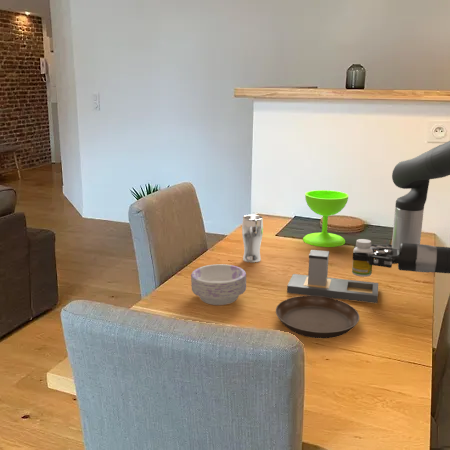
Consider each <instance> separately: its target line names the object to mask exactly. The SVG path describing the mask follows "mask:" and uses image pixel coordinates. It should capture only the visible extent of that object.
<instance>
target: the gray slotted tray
mask: <svg viewBox="0 0 450 450" xmlns="http://www.w3.org/2000/svg"><path fill="white" fill-rule="evenodd" d="M329 256H330V251H329V250H320V249H319V250H318V249H317V250H316V249H311V250H310V252H309V253H308V271H307V274H308V275H305V274H297V273H293V274H292V276H291V277H290V280H288V281H289V282H288V283H287V285H286V286H287V287H286V288H287V290H286V293H287V294H294V295H301V296H323V297H329V298H333V299H337V300H345V301H354V302H364V303H371V304H378V299H379V282H372V281H363V280H362V281H361V280H355V279H354V280H352V279H344V278H335V277H328V276H329V275H328V272H329V271H328V270H329Z"/></svg>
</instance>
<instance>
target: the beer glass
mask: <svg viewBox="0 0 450 450" xmlns="http://www.w3.org/2000/svg"><path fill="white" fill-rule="evenodd" d="M263 218H264V217H263V216H262V215H258V214H248V215H247V214H246V215H244V216H242V225H241V226H242V229H241V231H242V232H241V234H242V240H243V241H242V242H243V250H244V251H243V252H244V253H243V255H242V261H243V262H245V263H249V262H250V263H251V264H255V262H256V263H259V262H261V260H262V258H261V252H260V251H261V244H262V240H263V235H264V234H263V233H264V222H263V221H264V220H263Z"/></svg>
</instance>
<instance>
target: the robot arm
mask: <svg viewBox="0 0 450 450" xmlns="http://www.w3.org/2000/svg"><path fill="white" fill-rule="evenodd" d="M448 176H450V140H448V141H446V142H444V143H442V144H439V145H437V146H435V147H433V148H431V149H430V150H428V151H426V152H424V153H421V154H419V155H418V156H415V157H413V158H409V159H406V160H402V161H399V162H398V163H397V164H396V165H395V166H394V168H393V170H392V174H391V178H392V182H393V184H394V185H395V186H396V187H397V188H399V189H404V190H405V189H406V190H407V189H409V190H410V191H409V192H407V193H406V194H404V195H402V196H400V197H398V198H397V199H396V201H395V207H394V218H393V226H392V227H393V228H392V229H393V230H392V238H391V239H392V240H391V244H386V243H385V244H384V243H383V244H379V243H378V244H377V243H376V244H374V243H371V247H370V248H371V249H372V250H373V253H362V252H353V251H352V261H353V260H357V261H367V262H368V263H369V265H372V266H376V267H382V268H388V269H389V268H390V269H391V268H392V267H393V265H395V264H396V265H397V269H398V270H399V271H405V272H416V273H417V272H418V273H439V274H450V247H447V246H434V245H430V244H423V243H421V238H422V231H423V230H422V229H423V220H424V213H425V212H424V209H425V204H426V202H427V199H428V191H429V185H430V181H431V180H435V179H441V178H442V179H443V178H446V177H448ZM355 247H357V246H356V245H354V246H353V249H354V248H355Z"/></svg>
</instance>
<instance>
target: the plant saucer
mask: <svg viewBox="0 0 450 450" xmlns="http://www.w3.org/2000/svg"><path fill="white" fill-rule="evenodd" d="M275 313H276V316H277V319H278V320H279V321H280V323H282V325H283V326H285V328H287V329H288V330H289V331H290V332H292V333H295V334H297V335H300V336H301V337H305V338H306V337H307V338H311V339H332V338H334V339H335V338H337V337H340V336H343V335H346V334H347V333H349V332H350V331H352V330H353V329H354V328H355V327H356V326H357V324H358V322H359V321H360V314H359V312H358V311H357V310H356V308H354V307H353V306H352V305H350V304H349V303H347V302H344V301H342V300H341V299H335V298H329V297H323V296H310V295H301V296H300V295H299V296H293V297H290V298H289V297H288V298H287V299H285V300H283V301H281V302H280V303H278V305H277V306H276V308H275Z"/></svg>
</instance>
